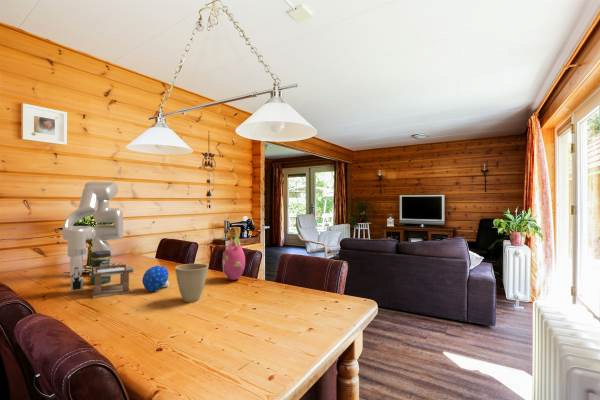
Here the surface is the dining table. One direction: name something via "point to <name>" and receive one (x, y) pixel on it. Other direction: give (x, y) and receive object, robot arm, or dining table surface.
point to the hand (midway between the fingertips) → (76, 287)
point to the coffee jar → (100, 264)
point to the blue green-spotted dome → (155, 278)
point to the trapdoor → (115, 270)
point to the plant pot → (191, 280)
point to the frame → (111, 289)
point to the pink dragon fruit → (233, 259)
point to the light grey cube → (81, 283)
